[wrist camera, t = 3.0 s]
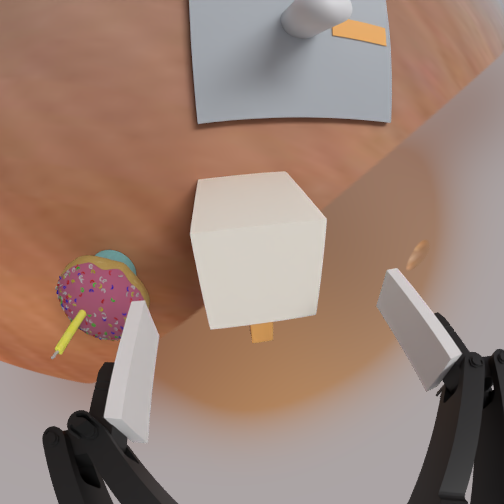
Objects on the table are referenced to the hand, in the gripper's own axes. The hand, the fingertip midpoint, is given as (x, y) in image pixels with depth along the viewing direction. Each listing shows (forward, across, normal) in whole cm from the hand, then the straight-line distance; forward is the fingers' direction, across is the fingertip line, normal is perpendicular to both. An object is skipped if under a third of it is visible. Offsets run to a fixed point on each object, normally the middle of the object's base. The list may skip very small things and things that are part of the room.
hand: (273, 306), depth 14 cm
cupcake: (+11, -13, -4) cm, 18 cm away
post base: (+11, +5, +16) cm, 20 cm away
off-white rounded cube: (+11, 0, -1) cm, 11 cm away
